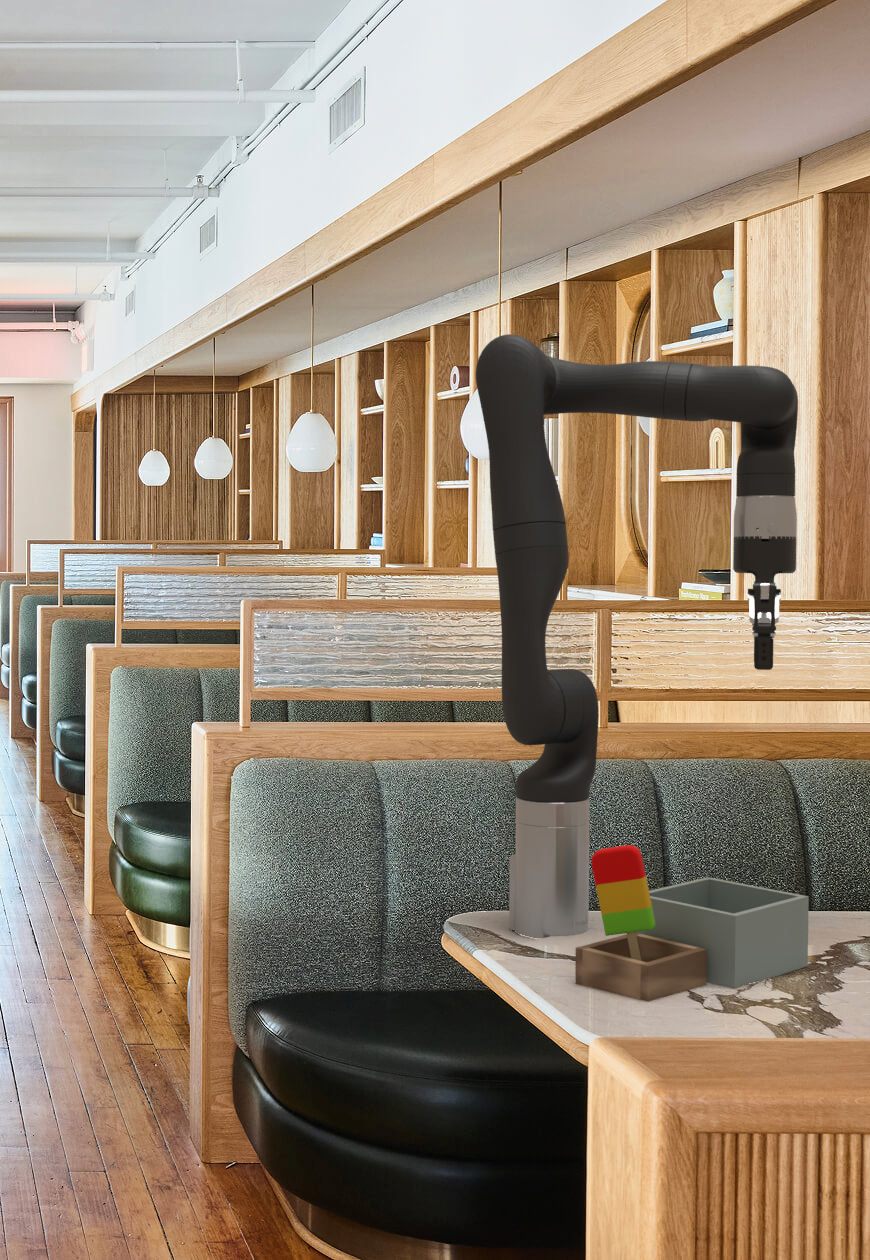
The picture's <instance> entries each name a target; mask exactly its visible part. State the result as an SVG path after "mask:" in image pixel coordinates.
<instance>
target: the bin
mask: <svg viewBox="0 0 870 1260" xmlns="http://www.w3.org/2000/svg"><path fill="white" fill-rule="evenodd" d="M649 893H650V898H651V903H652V908H653V913H654V918H655V923H656V926H655V928H654V929H653V930H647V931H639V932H636V933H639V934H644V935H648V936H652V937H657V938H661V939H665V940H669V941H674V942H678V943H682V944H686V945H691V946H695V947H699V948H703V949H707V966H706V984H707V983H708V984H711V985H712V984H713V985H716V986H717V985H718V986H721V987H727V988H731V989H734V990H736V989H738V987H739V988H741V986H742V987H744V986H743V985H746V984H749V983H752V984H754V983H753V982H756V983H758V982H757V981H759V982H761V981H760V980H763V981H765V980H764V979H766V980H768V979H767V978H770V979H772V978H771V977H773V978H775V976H776V977H778V976H782V975H784V974H787V973H791V972H795V971H797V970H800V969H802V968H803V969H804V968H807V967H808V961H809V960H808V959H809V957H808V956H809V955H808V954H809V908H810V907H809V904H810V901H809V900H810V899H809V897H810V896H808V895H803V894H798V893H793V892H787V891H783V890H777V889H772V888H766V887H760V886H756V885H750V884H745V883H740V882H734V881H730V880H724V879H719V878H714V877H702V878H698V879H694V880H690V881H689V880H688V881H685V882H681V883H677V884H673V885H669V886H664V887H661V888H656V889H652V890H651V889H650V890H649ZM749 985H750V984H749ZM746 986H747V985H746Z"/></svg>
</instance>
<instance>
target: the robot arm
mask: <svg viewBox="0 0 870 1260" xmlns="http://www.w3.org/2000/svg"><path fill="white" fill-rule="evenodd" d="M475 383H476V389H477V394H478V397H479V403H480V408H481V411H482V413H481V414H482V418H483V422H484V424H483V425H484V428H485V433H486V440H487V447H488V457H489V458H488V459H489V461H488V462H489V487H490V490H489V491H490V503H491V504H490V505H491V519H492V522H491V523H492V534H493V546H494V557H495V559H494V560H495V565H496V571H497V572H496V573H497V581H498V582H497V583H498V594H499V609H500V622H501V623H500V624H501V704H502V713H503V718H504V722H505V726H506V729H507V730H508V732H509V734H510V736H511V737H512V738H513V739H514V740H515V741H516V742H518V743H519V744H521V745H523V746H524V745H525V746H540V745H541V746H542V745H544V746H543V751H542V753H541V755H540V757H539V758H538V759H537V760H536V761H535V762H534V763H533V764H532V765H530V766H529V767H528V768H526V769H524V770H523V771H521V772H520V773H519V774H518V776H517V777H516V781H515V854H511V856H510V857H509V886H508V888H509V892H508V893H509V897H508V898H509V899H508V901H509V903H508V905H509V906H508V907H509V909H508V912H509V913H508V914H509V915H508V917H509V919H508V920H509V922H508V929H509V928H510V929H514V930H515V931H516V932H517V933H519V934H522V935H525V936H529V937H533V938H541V939H545V938H549V937H569V936H575V935H580V934H584V933H585V932H587V931H588V930H589V910H590V909H589V903H590V792H591V791H590V790H591V784H592V782H593V780H594V777H595V772H596V769H597V756H598V755H597V753H598V737H599V736H598V735H599V716H600V715H599V710H600V709H599V700H598V695H597V691H596V688H595V685H594V684H593V681H592V680H591V678H590V677H589V675H587V674H586V673H584V672H583V671H582V670H579V669H573V668H561V669H548V666H547V653H546V652H547V650H546V634H547V627H548V622H549V619H550V617H551V616H550V615H551V613H552V611H553V607H554V606H555V604H556V601H557V598H558V596H559V594H560V592H561V589H562V586H563V584H564V581H565V579H566V575H567V571H568V567H569V559H570V558H569V555H570V554H569V543H568V533H567V521H566V515H565V511H564V505H563V500H562V497H561V493H560V489H559V485H558V481H557V479H556V475H555V472H554V469H553V465H552V462H551V459H550V454H549V451H548V448H547V440H546V432H545V418H544V417H545V416H546V415H558V414H582V413H583V414H587V413H588V414H590V413H591V414H611V415H620V416H633V417H640V418H651V419H661V420H670V421H671V420H673V421H683V422H687V421H688V422H707V421H710V420H714V421H723V422H732V423H733V422H734V423H740V453H739V455H738V458H737V463H736V484H735V485H736V489H735V491H736V493H735V494H736V498H735V506H734V507H735V508H734V513H733V546H732V548H733V552H732V553H733V556H732V557H733V558H732V559H733V560H732V561H733V562H732V564H733V565H732V566H733V567H732V569H733V572H735V573H736V574H752V575H753V577H754V581H753V584H752V588H747V603H748V605H749V623H751V624H752V629H751V631H752V635H753V666H754V669H756V670H758V671H761V670H762V671H763V670H764V671H771V670H772V669H773V668H774V639H775V636H776V635H777V626H776V624H778V623H779V622H780V621H779V617H780V614H779V613H780V607H779V606H780V604H781V603H782V588H778V587H777V585H776V582H775V576H776V575H778V574H794V573H796V571H797V540H798V539H797V537H798V536H797V534H798V531H797V530H798V515H797V507H796V505H797V504H796V465H795V464H796V463H795V462H796V461H795V460H796V459H795V447H796V436H797V429H798V412H799V399H798V397H799V396H798V392H797V388H796V387H795V385H794V383H793V381H792V380H791V378H790V377H789V376H788V375H787V374H786V373H785V372H784V371H782V370H780V369H778V368H775V367H771V366H764V365H719V366H718V365H717V366H713V365H706V364H702V363H701V364H698V363H694V364H693V363H689V362H687V363H686V362H675V361H674V362H673V361H657V360H655V361H654V360H653V361H652V360H650V361H647V360H646V361H645V360H643V361H632V362H623V363H614V364H611V363H610V364H593V363H592V364H589V363H581V362H580V363H579V362H574V361H569V360H565V359H561V358H556V357H552V356H550V355H549V356H548V355H546V354H545V353H544V351H542V349H541V348H540V347H539V346H538V345H536V343H534V342H532V341H531V340H530V339H527V338H526V337H523V336H520V335H518V334H517V335H516V334H508V333H507V334H503V335H500V336H497V337H495V338H493V339H492V340H491V341H490V342H488V343H487V344H486V346H484V348H483V350H482V351H481V353H480V355H479V357H478V360H477V363H476V366H475ZM515 931H514V932H515ZM541 939H540V940H541Z"/></svg>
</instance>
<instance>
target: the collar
mask: <svg viewBox="0 0 870 1260" xmlns="http://www.w3.org/2000/svg"><path fill="white" fill-rule="evenodd" d="M636 936H637V941H638V946H639V951H640V956H641V961H639V960H635V959H632V958H631V953H630V948H629V943H628V938H627V934H626V933H625V934H623V935H622V934H621V935H620V936H619V935H618V936H615V937H612V938H607V939H603V940H600V941H596V942H591V943H588V944H585V945H580V946H577V947H575V967H574V969H575V977H574V979H575V981H574V982H575V985H579V986H582V987H583V986H584V987H587V988H591V989H594V990H595V989H596V990H599V991H603V992H604V991H605V992H608V993H612V994H615V995H619V996H624V997H628V998H632V999H636V1000H641V1001H644V1002H648V1003H649V1002H651V1001H654V1000H658V999H659V1000H660V999H662V998H667V997H669V996H672V995H676V994H680V993H683V992H686V991H690V990H694V989H696V988H701V987H705V986H707V982H706V966H707V949H703V948H699V947H695V946H691V945H686V944H682V943H678V942H674V941H669V940H665V939H661V938H657V937H652V936H648V935H644V934H639V933H636Z"/></svg>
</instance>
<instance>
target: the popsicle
mask: <svg viewBox="0 0 870 1260" xmlns="http://www.w3.org/2000/svg"><path fill="white" fill-rule="evenodd" d="M590 861H591V869H592V874H593V878H594V883H595V890H596V894H597V899H598V904H599V908H600V915H601V918H602V924H603V929H604V933H605V936H606V937H607V936H615V935H622V934H623V935H626V934H627V938H628V943H629V948H630V953H631V958H632V959H635V960H639V961H641V956H640V951H639V946H638V941H637V936H636V932H639V931H647V930H653V929H654V928H655V926H656V923H655V918H654V913H653V908H652V903H651V898H650V893H649V891H650V889H649V883H648V879H647V875H646V868H645V865H644V860H643V855H642V852H641V850H640V849H639V848H638V847H637V846H635V845H630V844H629V845H628V844H626V845H619V846H614V847H606V848H601V849H599V850H597V851H596V852H594V853H593V855H592V856H591V860H590Z"/></svg>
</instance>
